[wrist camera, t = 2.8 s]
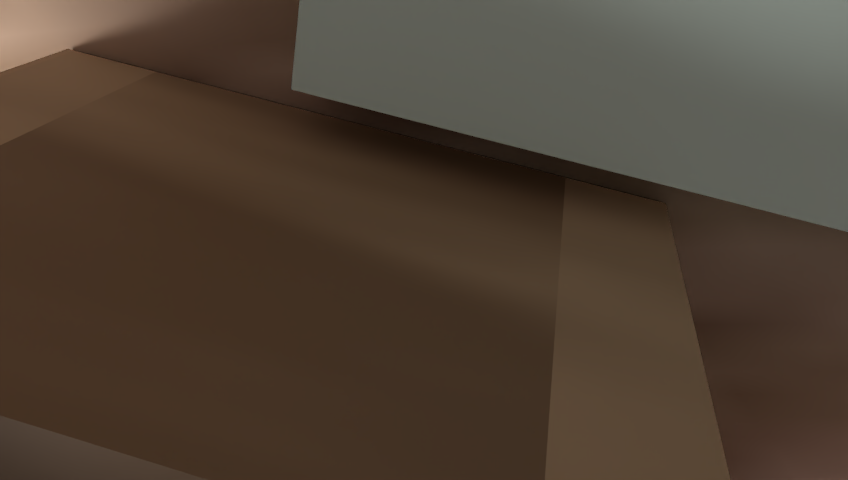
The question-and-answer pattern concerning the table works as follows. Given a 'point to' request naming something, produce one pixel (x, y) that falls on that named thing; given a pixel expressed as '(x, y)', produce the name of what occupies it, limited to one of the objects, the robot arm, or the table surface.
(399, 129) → the table surface
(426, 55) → the post block
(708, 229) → the table surface
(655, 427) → the walnut sleeve
